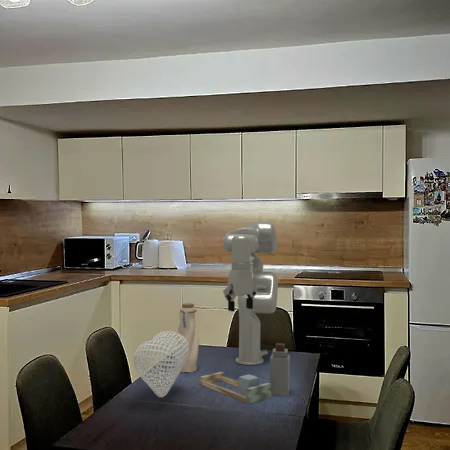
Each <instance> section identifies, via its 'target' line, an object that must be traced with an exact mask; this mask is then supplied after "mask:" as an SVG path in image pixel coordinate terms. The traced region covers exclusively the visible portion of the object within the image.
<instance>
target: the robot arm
mask: <svg viewBox="0 0 450 450" xmlns="http://www.w3.org/2000/svg"><path fill="white" fill-rule="evenodd" d="M222 241H223V242H222V245H223V249H224V251H225V252H227V253H231V270H229V273H228V278H227V287H226V288H225V289H223V291H222V292H223V295H224V297H225V299H226V301H228V302H227V310H228V311H229V312H235V310H236V308H235V307H236V306H235V304H236V303H235V301H234V300H235V299H236V297H237V308H238V317H239V318H238V320H239V322H238V326H239V328H238V329H239V330H238V331H239V332H238V333H239V335H238V337H239V338H238V357H236V358H235V363H236V364H240V365H242V366H243V365H245V366H257V365H261V364H263V363H264V358H263V356H267V355H268V350H261V328H262V327H261V325H262V324H261V320H260V319H259V317H258V316H257V314H274V313H275V311H276V310H277V306H278V291H279V280H278V279H279V278H278V275H277V274H276V272H273V271H263V270H264V263H263V262H262V260H261V258H259V256H258V255H256V254H274V253H275V252H277V250H278V238H277V230H276V227H275V226H274V224H273V223H272V222H268V221H267V222H266V221H252V222H248V223H246V224H245V225H244V226H243V227H241V228H237V229H232V230H229V231H228V232H227V233H226V234H225V235H224V237H223V240H222Z"/></svg>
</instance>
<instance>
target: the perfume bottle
mask: <svg viewBox="0 0 450 450" xmlns="http://www.w3.org/2000/svg"><path fill="white" fill-rule="evenodd" d="M274 345H275V348H273V349H272V352H271V355H270V357H269V383H271V396H273V395H274V396H283V397H284V396H285V397H289V394H290V383H291V382H290V381H291V379H290V377H291V376H290V374H291V373H290V371H291V355H290V354H288V352H289V351H288V350H289V349H288V348H285V346H286V343H284V342H283V343H281V342H276V343H275V344H274Z"/></svg>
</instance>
